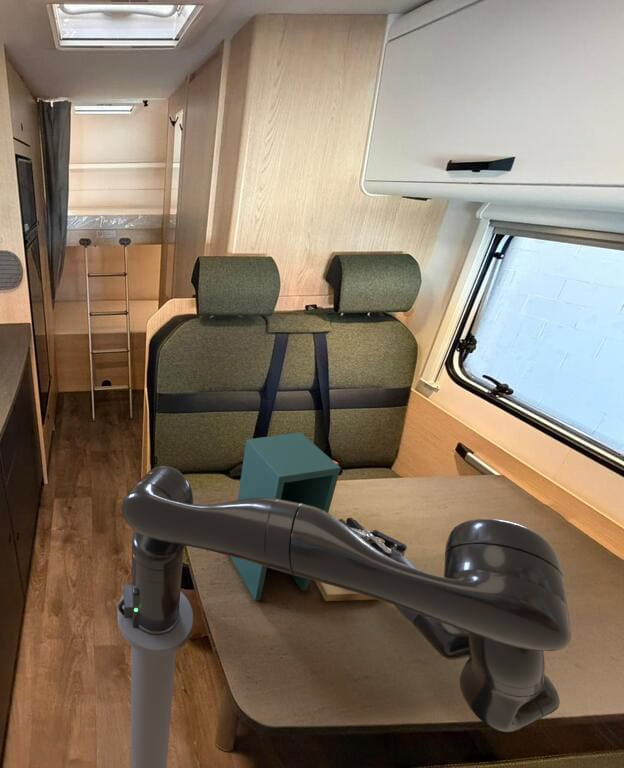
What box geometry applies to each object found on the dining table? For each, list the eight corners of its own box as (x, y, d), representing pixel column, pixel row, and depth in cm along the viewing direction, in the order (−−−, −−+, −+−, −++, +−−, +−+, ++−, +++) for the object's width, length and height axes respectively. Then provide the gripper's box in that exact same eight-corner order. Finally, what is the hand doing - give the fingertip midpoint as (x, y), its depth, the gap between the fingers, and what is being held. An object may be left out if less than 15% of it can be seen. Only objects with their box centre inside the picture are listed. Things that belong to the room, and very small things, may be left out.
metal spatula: (297, 519, 102) (297, 512, 102) (314, 516, 102) (313, 510, 102) (362, 544, 81) (361, 536, 81) (382, 541, 82) (381, 532, 82)
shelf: (229, 555, 97) (246, 439, 83) (276, 546, 99) (300, 432, 85) (255, 601, 87) (279, 477, 73) (307, 590, 89) (340, 467, 75)
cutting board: (325, 601, 86) (327, 594, 85) (288, 531, 103) (289, 525, 103) (378, 599, 86) (380, 592, 86) (332, 530, 104) (334, 524, 103)
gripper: (450, 569, 73) (375, 502, 88) (382, 584, 71) (317, 512, 86) (437, 598, 76) (367, 529, 92) (371, 613, 74) (310, 539, 89)
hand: (343, 521), depth 89 cm, fingers closed on metal spatula, 1 cm apart
